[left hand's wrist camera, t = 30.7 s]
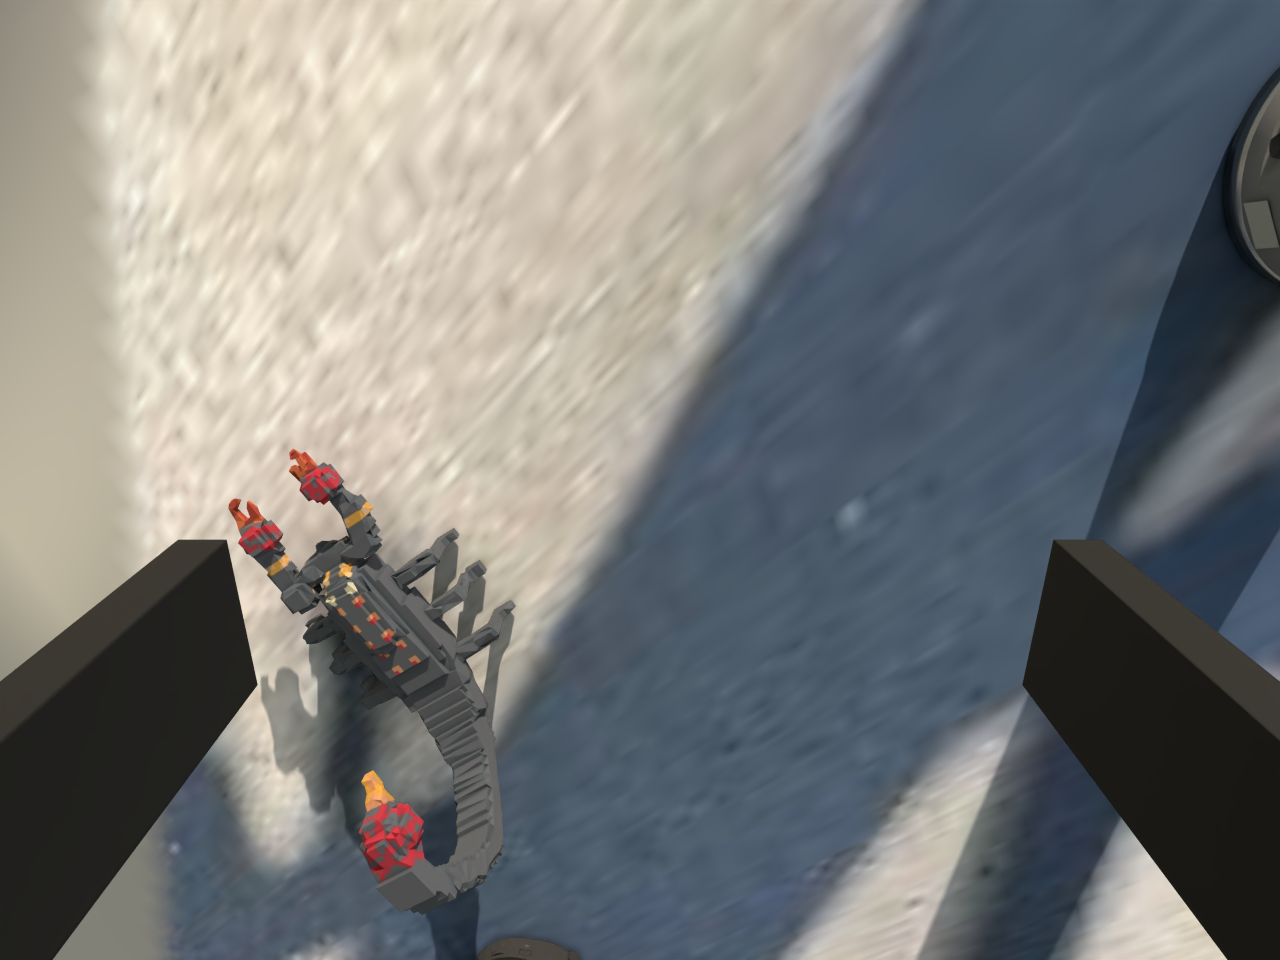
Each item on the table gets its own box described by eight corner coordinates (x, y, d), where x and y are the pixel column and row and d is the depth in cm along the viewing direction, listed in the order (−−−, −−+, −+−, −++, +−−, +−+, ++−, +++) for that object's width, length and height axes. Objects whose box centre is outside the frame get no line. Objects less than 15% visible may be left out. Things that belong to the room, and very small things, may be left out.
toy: (443, 770, 61) (368, 999, 44) (203, 505, 53) (-3, 663, 36) (585, 694, 59) (563, 907, 42) (356, 404, 51) (211, 521, 34)
